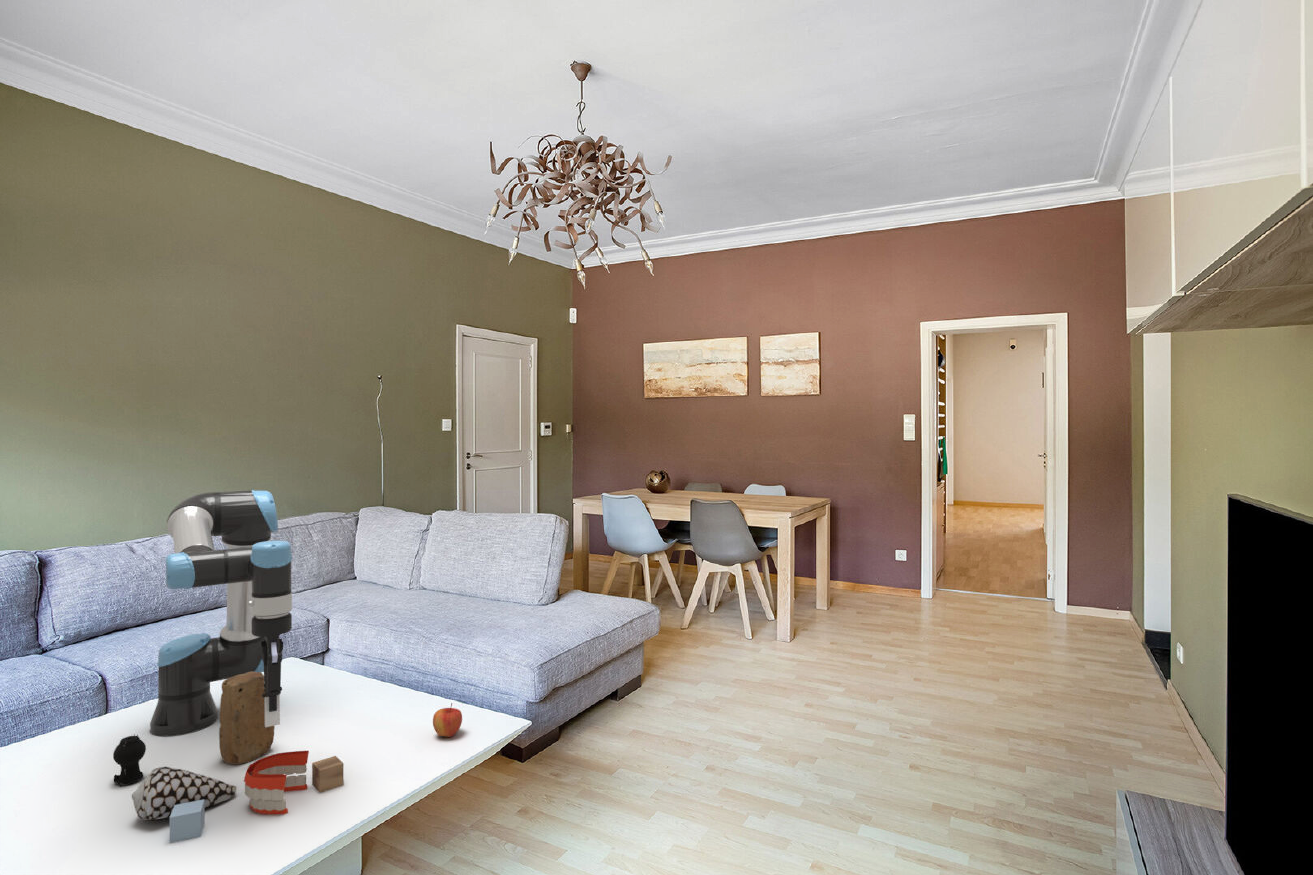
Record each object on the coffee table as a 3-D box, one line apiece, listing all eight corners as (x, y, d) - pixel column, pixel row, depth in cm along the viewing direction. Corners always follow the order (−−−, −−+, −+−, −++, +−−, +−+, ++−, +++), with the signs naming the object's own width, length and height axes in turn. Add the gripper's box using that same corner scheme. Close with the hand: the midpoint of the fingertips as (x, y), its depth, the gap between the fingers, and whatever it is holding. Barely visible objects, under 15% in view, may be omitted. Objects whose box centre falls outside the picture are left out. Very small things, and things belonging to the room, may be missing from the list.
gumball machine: (119, 776, 158) (119, 733, 158) (150, 771, 160) (150, 729, 160) (108, 790, 152) (108, 745, 152) (141, 785, 154) (140, 740, 154)
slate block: (174, 830, 137) (174, 804, 137) (204, 823, 139) (204, 799, 139) (169, 843, 132) (169, 817, 132) (200, 836, 134) (200, 811, 134)
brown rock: (231, 769, 161) (231, 684, 161) (216, 761, 165) (216, 678, 165) (278, 751, 170) (278, 671, 170) (262, 744, 174) (262, 665, 174)
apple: (426, 739, 177) (426, 708, 177) (445, 728, 184) (445, 698, 184) (449, 744, 174) (449, 712, 174) (468, 732, 181) (467, 702, 181)
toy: (261, 787, 153) (261, 751, 153) (310, 785, 154) (310, 749, 154) (232, 818, 141) (231, 779, 141) (284, 816, 141) (284, 777, 141)
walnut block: (312, 784, 154) (312, 762, 154) (335, 777, 158) (335, 755, 158) (319, 793, 151) (319, 770, 151) (343, 785, 154) (343, 763, 154)
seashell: (163, 836, 134) (163, 785, 134) (120, 823, 139) (120, 774, 139) (240, 795, 150) (240, 750, 150) (199, 785, 154) (199, 740, 154)
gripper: (249, 610, 150) (249, 718, 150) (253, 623, 140) (254, 739, 139) (288, 605, 155) (288, 710, 154) (295, 618, 144) (295, 730, 144)
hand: (272, 724), depth 147 cm, fingers closed
